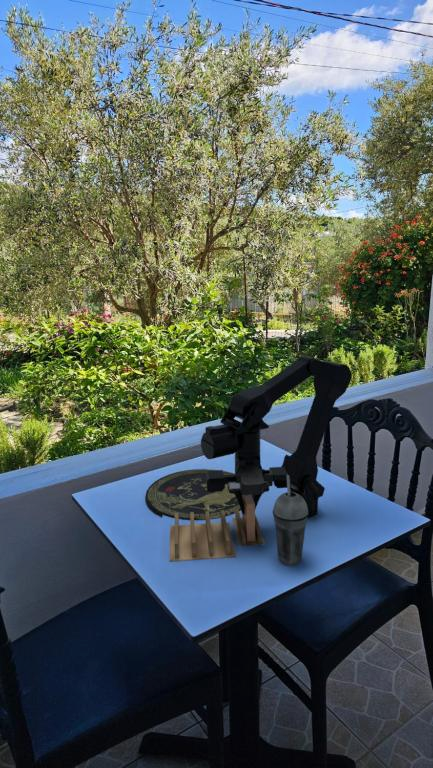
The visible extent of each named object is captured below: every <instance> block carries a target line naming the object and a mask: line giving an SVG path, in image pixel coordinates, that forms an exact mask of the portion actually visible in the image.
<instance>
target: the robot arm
mask: <svg viewBox="0 0 433 768" xmlns="http://www.w3.org/2000/svg"><path fill="white" fill-rule="evenodd" d="M311 377H313V381H312V383H313V390H314V398H313V401H312V404H311V407H310V409H309V412H308V414H307V415H308V416H307V418H306V420H305V424H304V427H303V430H302V432H301V436H300V438H299V441H298V444H297V448H296V449H295V451H294V452H293V453H291V454H290V455H288V454H285V456H284V458H283V462H282V464H281V466H272V467H269V468H268V469H265V468H263V467H262V464H261V431H262V430H266V429H269V428H270V425H269V424H267V423H266V422H265V421H264V420H263V418H265V417H266V416H267V415H268V414H269V413H270V411H271V410H272V407H273V405H274V404H275V403H276V402H277V401H278V400H279V399H281V398H282V397H284V396H285V395H286V394H288V393H290V391H292V390H293V389H295V388H296V387H298V386H299V385H301V384H302V383H303V382H305V381H306V380H308V379H309V378H311ZM352 377H353V373H352V370H351V368H350V367H349V365H347V364H343V363H339V362H335V361H329V360H324V361H323V360H320V359H318V358H316V357H312V356H308V355H302V356H300V357H298V358H297V359H296V360H295V361H294V362H292V363H291V364H290V365H289V366H287V367H286V368H284V369H283V370H281V371H279V372H278V373H277V374H275V375H274V376H272V377H271V378H269V379H268V380H266V381H265V382H263V383H262V384H260V385H258V386H257V385H256V386H252V387H248V388H246V389H243V390H241V391H239V392H236V393H235V394H234V395H233V396H232V397H231V398H230V403H229V406H228V407H227V408H226V411H225V412H224V414H223V416H222V417H221V419H220V423H221V424H218V425H209V426H205V428H204V430H205V432H204V433H203V434H202V437H201V439H200V447H201V448H200V449H201V450H202V453H203V455H204V457H205V458H206V460H207V459H208V460H212V459H216V458H221V457H225V456H230V455H234V474H235V475H224V474H223V471H224V470H223V469H214V470H212V471H207V473H206V486H207V491H208V492H221V491H223V490H224V489H225V484H227V487H228V491H229V493H230V494H234V495H235V496H236V498H237V500H238V502H239V505H240V508H241V511H242V514H244V502H243V495H249V494H252V497H253V500H254V503H255V510H256V509H257V506H258V504H259V501H260V500H261V497H262V495H264V493H266V492H267V493H268V492H269V491H270V487H273V486H274V487H276V488H277V489H287V475H289V481H290V492H294V493H297V494H299V495H300V496H301V497H302V498H303V499H304V500H305V502H306V504H307V507H308V512H309V515H308V518H307V519H310V518H313V517H314V516H317V515H318V513H319V512H318V511H319V510H318V508H319V498H322V497H323V496H324V492H325V490H326V487H324V486H323V484H321V483H320V482H319V481H318V480H317V477H318V473H319V467H318V462H317V455H318V452H319V450H320V447H321V443H322V441H323V438H324V436H325V432H326V430H327V427H328V423H329V420H330V418H331V415H332V412H333V410H334V406H335V403H336V401H337V400H339V399H340V397H341V396H342V395H343V396H344V394H345V393H346V392H347V389H348V387H349V385H350V383H351V381H352ZM235 418H237V419H240V420H242V421H239V420H237V419H235ZM242 494H243V495H242ZM241 511H240V512H241Z"/></svg>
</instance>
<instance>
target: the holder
mask: <svg viewBox="0 0 433 768" xmlns="http://www.w3.org/2000/svg"><path fill="white" fill-rule="evenodd" d="M232 524H233V527H234V533H235V538H236V542H237V546H238V547H250V546H261V545H262V546H263V545H264V546H265V545H266V541H265V538H264V535H263V533H262V530H261V526H260V523H259V520H258V518H257V516H256V514H255V541H249V542H247V540H246V535H245V531H244V528H243V524H242V516H241V513H240V511H239V509H235V515H234V518H232Z"/></svg>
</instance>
